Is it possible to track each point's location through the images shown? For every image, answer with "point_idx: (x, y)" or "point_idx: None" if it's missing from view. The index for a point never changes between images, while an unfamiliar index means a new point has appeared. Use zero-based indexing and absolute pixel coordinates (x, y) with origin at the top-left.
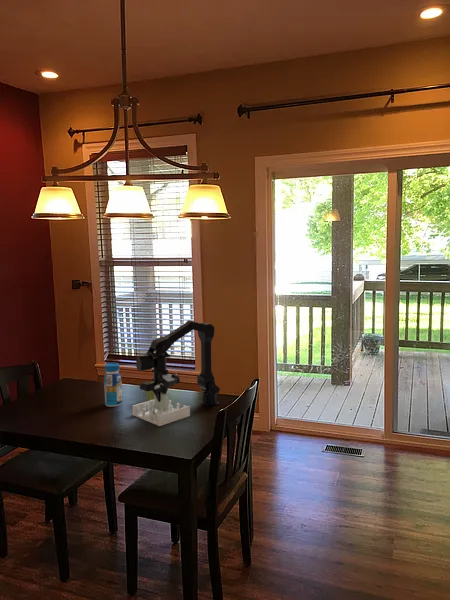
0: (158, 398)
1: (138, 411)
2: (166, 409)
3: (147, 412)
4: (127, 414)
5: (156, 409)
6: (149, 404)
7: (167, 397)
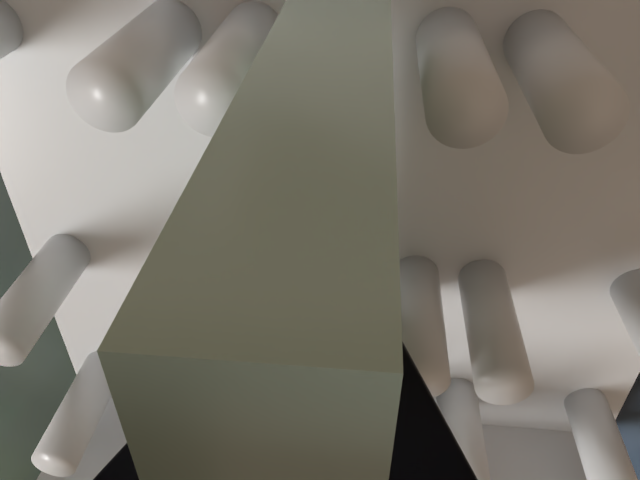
0: (444, 447)
1: (607, 423)
2: (353, 12)
3: (461, 349)
4: None
5: None
6: None
7: (217, 205)
